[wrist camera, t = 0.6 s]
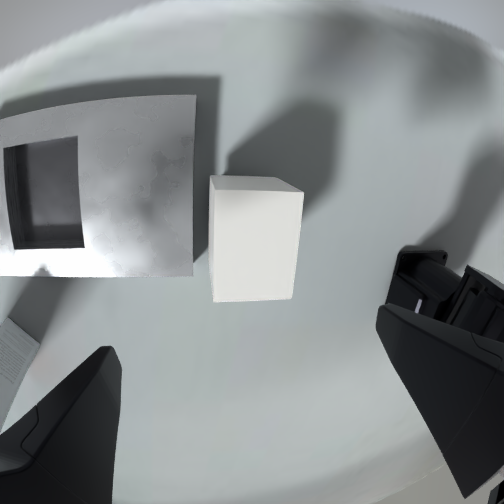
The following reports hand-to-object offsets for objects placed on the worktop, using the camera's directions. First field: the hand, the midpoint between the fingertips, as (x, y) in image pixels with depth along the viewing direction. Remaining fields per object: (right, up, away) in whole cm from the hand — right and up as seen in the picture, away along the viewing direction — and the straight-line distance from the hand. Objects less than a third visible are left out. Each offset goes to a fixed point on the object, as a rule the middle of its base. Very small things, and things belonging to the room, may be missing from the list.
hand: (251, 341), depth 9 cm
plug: (-1, +5, +11) cm, 12 cm away
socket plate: (-12, +7, +8) cm, 16 cm away
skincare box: (-22, -6, +11) cm, 26 cm away
